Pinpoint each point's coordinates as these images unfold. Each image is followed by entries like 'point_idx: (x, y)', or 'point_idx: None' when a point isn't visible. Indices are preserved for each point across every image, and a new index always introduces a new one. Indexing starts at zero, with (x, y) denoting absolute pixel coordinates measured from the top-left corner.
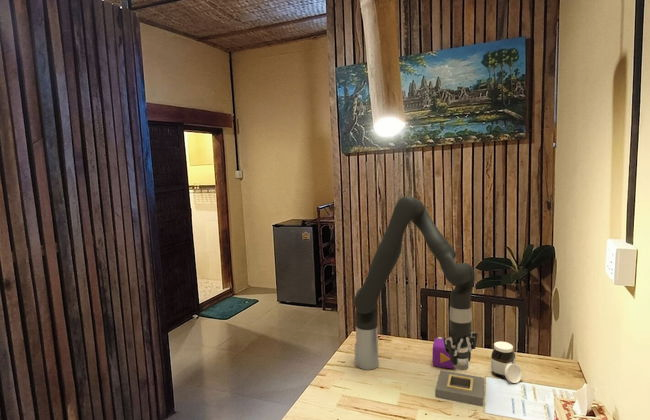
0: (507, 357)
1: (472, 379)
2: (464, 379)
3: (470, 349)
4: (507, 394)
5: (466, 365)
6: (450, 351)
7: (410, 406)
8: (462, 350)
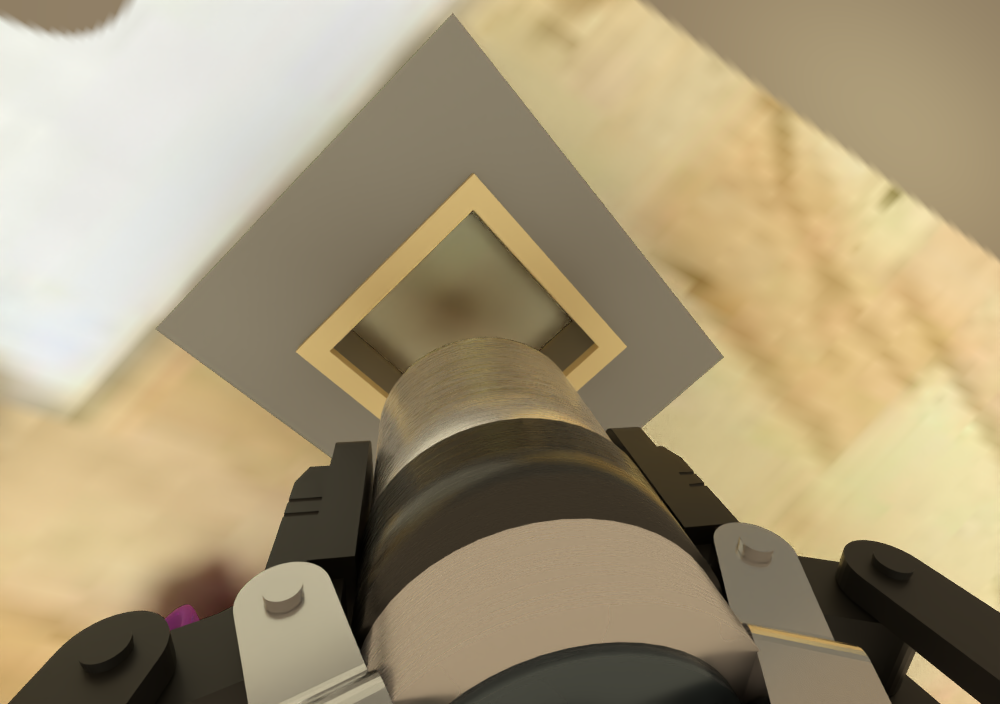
0: None
1: (320, 336)
2: (379, 384)
3: (279, 615)
4: (44, 63)
5: (478, 363)
6: (978, 620)
7: (899, 313)
8: (679, 579)
